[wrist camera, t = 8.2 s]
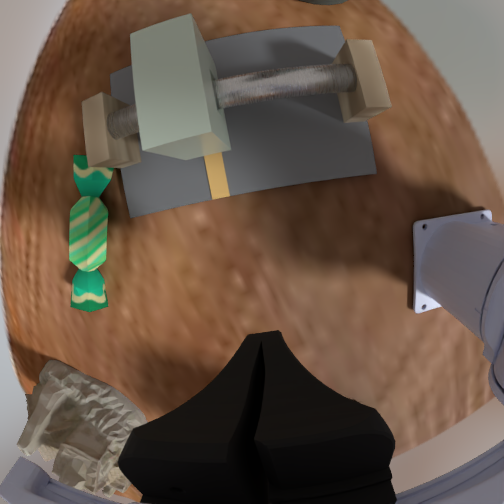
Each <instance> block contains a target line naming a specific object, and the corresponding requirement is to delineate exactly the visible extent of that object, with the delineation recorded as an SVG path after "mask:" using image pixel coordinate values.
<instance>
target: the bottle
mask: <svg viewBox="0 0 504 504" xmlns="http://www.w3.org/2000/svg"><path fill="white" fill-rule="evenodd" d="M300 1H304V2H308V3H312V4H320V5H333V4H340V3H343V2H345V1H347V0H300Z"/></svg>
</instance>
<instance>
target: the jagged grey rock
mask: <svg viewBox="0 0 504 504" xmlns="http://www.w3.org/2000/svg"><path fill="white" fill-rule="evenodd" d="M39 380H40V383H38V384H37V386H34V388H33V393H32V394H25V395H26V398H27V400H26V401H27V404H28V405H27V410H28V421H27V424H26V426H25V428H24V430H23V433H22V435H21V437H20V439H19V441H18V443H17V445H18V447H19V449H20V450H21V451H22V452H23V453H24V454H25V455H26V456H30V455H32V454H33V453H34V452H35V451H36V450H37V449H38V450H39V452H40V454H41V455H42V457H43V458H44V460H45V461H49V460H51V459H54V458H55V461H54V466H53V470H52V473H53V474H54V475H57V476H59V477H60V478H59V482H61V483H63V484H66V485H68V486H71V487H73V488H76V489H78V490H82V489H86V490H87V491H89V492H91V493H92V494H96V493H97V492H98V491H99V490H100V489H101V488H103V489H104V490H102V492H103V494H104V495H105V496H106V497H111V496H112V495H113V493H114V492H115V490H118V491H120V492H122V493H124V492H125V491H126V490H127V488H128V487H129V486H130V485H131V484H132V483H131V482H130V481H129V480H128V479H127V478H126V477H125V476H124V474H123V473H122V472H121V470H120V469H119V466H118V463H117V462H118V459H119V456H120V454H121V452H122V450H123V448H124V445H125V443H126V441H127V439H128V437H129V435H130V433H131V431H132V430H133V428H135V427H138V426H141V425H143V424H146V423H148V422H147V420H146V418H145V416H144V414H143V413H142V412H141V410H140V409H139V408H138V407H137V406H136V405H135V404H133V403H132V402H131V401H130V400H129V399H128V398H127V397H126V396H124V395H123V394H122V393H120V392H119V391H118V390H116V389H115V388H113V387H112V386H109V385H108V384H106V383H104V382H101V381H99V380H97V379H95V378H91V376H88V375H86V374H84V373H82V372H81V371H79V370H76V369H74V368H72V367H70V366H68V365H66V364H64V363H62V362H60V361H57V360H49V361H48V362H47V363H46V364H45V366H44V368H43V370H42V371H41V372H40V375H39Z"/></svg>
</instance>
